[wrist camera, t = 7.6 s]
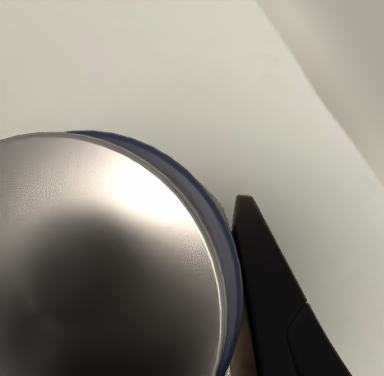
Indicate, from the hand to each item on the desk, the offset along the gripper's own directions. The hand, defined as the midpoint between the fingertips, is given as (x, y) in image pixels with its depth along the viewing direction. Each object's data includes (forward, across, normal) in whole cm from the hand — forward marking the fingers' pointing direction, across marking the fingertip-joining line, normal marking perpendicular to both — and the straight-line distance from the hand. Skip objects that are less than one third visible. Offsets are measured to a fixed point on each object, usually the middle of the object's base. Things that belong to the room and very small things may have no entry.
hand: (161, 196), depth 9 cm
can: (+4, 0, +6) cm, 7 cm away
